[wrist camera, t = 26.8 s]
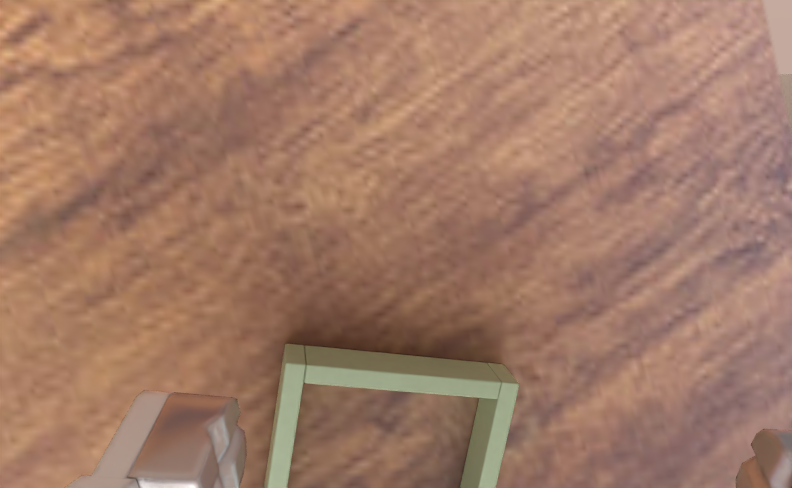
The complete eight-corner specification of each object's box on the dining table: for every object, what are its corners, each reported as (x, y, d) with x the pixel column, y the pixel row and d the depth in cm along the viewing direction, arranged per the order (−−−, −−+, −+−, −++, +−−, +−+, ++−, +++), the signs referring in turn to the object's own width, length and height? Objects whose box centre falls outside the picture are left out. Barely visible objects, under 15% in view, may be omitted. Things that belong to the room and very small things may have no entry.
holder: (503, 363, 28) (520, 383, 26) (457, 570, 30) (469, 603, 28) (285, 342, 26) (285, 362, 24) (252, 565, 28) (249, 600, 26)
